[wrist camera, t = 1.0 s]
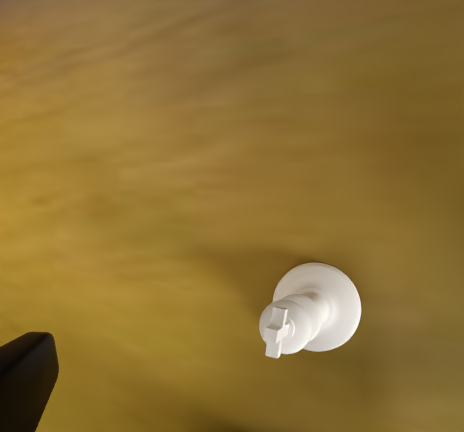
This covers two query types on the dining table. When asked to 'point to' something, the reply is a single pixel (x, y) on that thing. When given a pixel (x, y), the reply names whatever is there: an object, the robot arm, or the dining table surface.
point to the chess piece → (310, 311)
